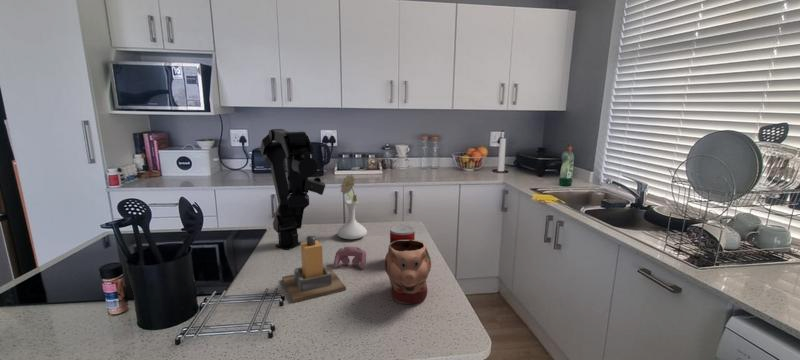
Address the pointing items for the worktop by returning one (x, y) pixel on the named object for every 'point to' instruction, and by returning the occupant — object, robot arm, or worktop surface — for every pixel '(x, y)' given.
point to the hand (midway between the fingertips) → (299, 220)
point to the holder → (312, 285)
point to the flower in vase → (351, 212)
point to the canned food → (402, 233)
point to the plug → (311, 258)
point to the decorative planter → (408, 270)
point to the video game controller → (350, 251)
